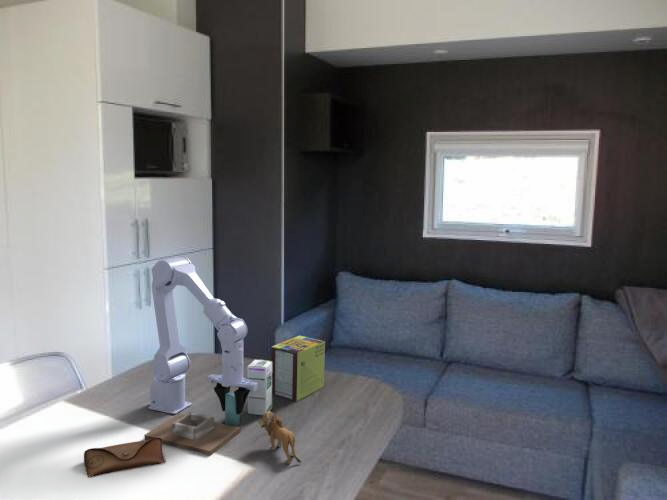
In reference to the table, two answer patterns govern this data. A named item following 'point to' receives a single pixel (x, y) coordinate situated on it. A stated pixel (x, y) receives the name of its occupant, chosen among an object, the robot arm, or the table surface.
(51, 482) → the table surface
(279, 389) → the protein box
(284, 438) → the lion figurine
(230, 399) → the peg
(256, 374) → the syrup box
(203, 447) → the socket board
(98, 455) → the sunglasses case
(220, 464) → the table surface
